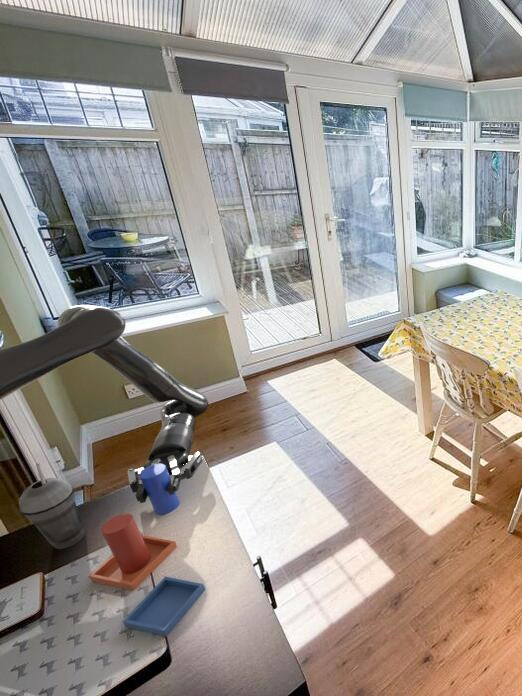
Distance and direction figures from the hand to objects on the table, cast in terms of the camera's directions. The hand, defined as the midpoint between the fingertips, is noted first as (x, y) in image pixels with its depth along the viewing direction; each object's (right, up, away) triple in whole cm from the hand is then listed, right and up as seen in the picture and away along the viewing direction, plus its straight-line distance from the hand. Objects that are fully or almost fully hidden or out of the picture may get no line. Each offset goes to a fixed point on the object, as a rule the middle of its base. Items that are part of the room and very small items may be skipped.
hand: (156, 495), depth 88 cm
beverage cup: (-15, -8, -3) cm, 17 cm away
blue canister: (-1, -5, +5) cm, 7 cm away
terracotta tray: (+2, -10, -7) cm, 13 cm away
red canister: (+2, -10, -8) cm, 13 cm away
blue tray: (+14, -14, -14) cm, 25 cm away
